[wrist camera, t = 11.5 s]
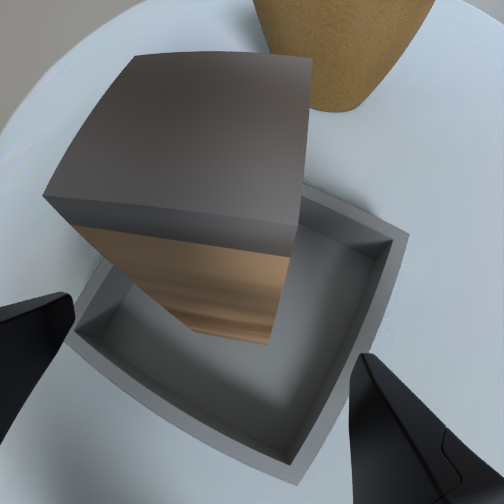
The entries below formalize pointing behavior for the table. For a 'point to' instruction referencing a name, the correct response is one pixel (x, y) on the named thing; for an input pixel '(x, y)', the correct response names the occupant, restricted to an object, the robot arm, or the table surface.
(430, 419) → the robot arm
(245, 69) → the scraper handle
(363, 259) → the box
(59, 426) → the table surface
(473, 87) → the table surface
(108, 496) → the table surface
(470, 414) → the table surface
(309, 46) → the plant pot
